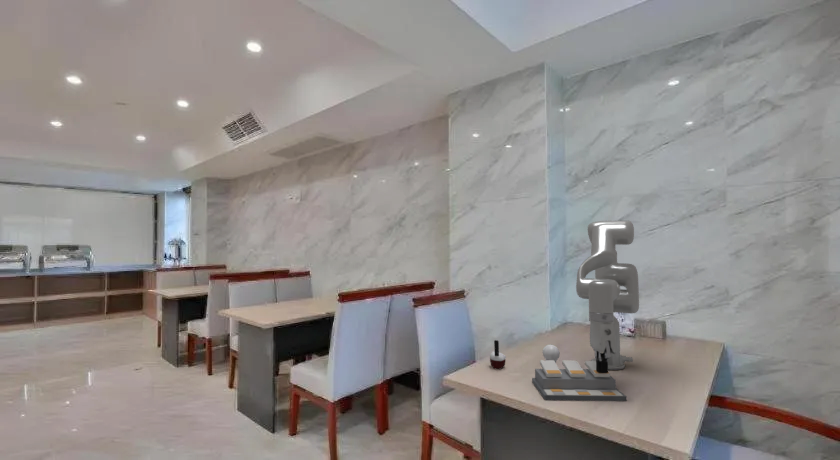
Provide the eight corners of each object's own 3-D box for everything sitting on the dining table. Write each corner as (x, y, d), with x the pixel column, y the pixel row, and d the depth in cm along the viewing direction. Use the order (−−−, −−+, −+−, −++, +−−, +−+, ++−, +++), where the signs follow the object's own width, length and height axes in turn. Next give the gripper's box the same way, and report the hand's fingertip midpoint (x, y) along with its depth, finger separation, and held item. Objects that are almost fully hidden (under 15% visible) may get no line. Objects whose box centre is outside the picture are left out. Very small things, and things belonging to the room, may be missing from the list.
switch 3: (598, 364, 137) (598, 360, 137) (610, 377, 128) (610, 373, 128) (584, 364, 138) (584, 360, 137) (594, 377, 129) (595, 373, 128)
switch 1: (553, 363, 138) (553, 359, 138) (561, 377, 129) (562, 373, 129) (539, 363, 138) (539, 359, 138) (546, 377, 129) (547, 373, 129)
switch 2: (576, 363, 138) (576, 360, 137) (585, 377, 129) (586, 373, 129) (562, 363, 138) (562, 359, 138) (570, 377, 129) (571, 373, 129)
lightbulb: (559, 371, 151) (559, 343, 151) (560, 376, 145) (559, 347, 145) (543, 369, 153) (542, 341, 153) (542, 374, 147) (542, 346, 147)
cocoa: (495, 364, 161) (495, 335, 162) (509, 366, 157) (508, 337, 158) (484, 369, 154) (484, 338, 155) (499, 372, 150) (498, 340, 151)
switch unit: (604, 382, 138) (604, 368, 139) (626, 401, 122) (626, 385, 123) (532, 382, 139) (531, 368, 140) (544, 400, 123) (544, 384, 124)
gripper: (623, 321, 122) (624, 380, 121) (602, 314, 137) (603, 366, 136) (599, 321, 122) (600, 379, 121) (581, 313, 137) (582, 365, 136)
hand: (602, 372), depth 129 cm, fingers closed
